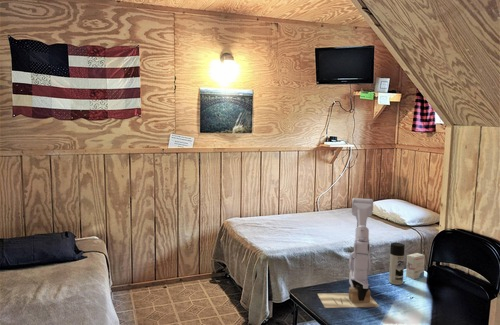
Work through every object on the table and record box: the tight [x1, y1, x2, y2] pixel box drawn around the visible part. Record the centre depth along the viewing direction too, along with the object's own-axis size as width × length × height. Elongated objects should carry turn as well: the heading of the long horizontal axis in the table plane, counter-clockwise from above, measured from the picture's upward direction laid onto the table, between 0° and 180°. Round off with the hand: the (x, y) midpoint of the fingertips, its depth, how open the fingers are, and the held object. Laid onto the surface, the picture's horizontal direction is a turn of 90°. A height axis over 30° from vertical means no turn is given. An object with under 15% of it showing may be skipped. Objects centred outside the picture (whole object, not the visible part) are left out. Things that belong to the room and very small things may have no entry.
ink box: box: [405, 252, 426, 280], centre depth 211 cm, size 9×5×12 cm, turn 119°
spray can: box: [388, 241, 406, 286], centre depth 201 cm, size 7×7×20 cm
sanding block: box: [348, 286, 371, 303], centre depth 177 cm, size 4×8×5 cm, turn 94°
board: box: [317, 292, 381, 309], centre depth 178 cm, size 14×24×2 cm, turn 94°
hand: (359, 297), depth 177 cm, fingers closed on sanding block, 4 cm apart
